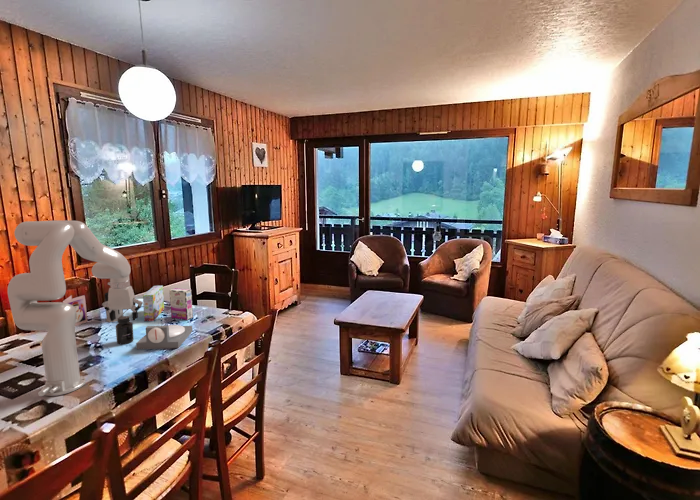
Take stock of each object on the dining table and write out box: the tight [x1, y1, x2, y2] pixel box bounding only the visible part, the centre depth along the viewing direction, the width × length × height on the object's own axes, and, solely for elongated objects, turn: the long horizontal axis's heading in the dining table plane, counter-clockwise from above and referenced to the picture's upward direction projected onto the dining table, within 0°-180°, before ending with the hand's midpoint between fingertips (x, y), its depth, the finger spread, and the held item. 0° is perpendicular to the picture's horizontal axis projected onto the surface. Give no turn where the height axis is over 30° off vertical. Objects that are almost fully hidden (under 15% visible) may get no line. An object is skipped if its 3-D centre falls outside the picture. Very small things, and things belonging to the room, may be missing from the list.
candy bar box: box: [169, 287, 194, 321], centre depth 203 cm, size 11×5×16 cm, turn 73°
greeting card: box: [62, 294, 88, 327], centre depth 191 cm, size 11×7×15 cm, turn 165°
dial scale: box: [135, 324, 193, 350], centre depth 173 cm, size 21×18×10 cm
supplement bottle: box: [115, 315, 135, 346], centre depth 171 cm, size 7×7×12 cm
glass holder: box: [104, 291, 129, 323], centre depth 200 cm, size 9×14×15 cm, turn 88°
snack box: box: [142, 285, 165, 322], centre depth 208 cm, size 21×6×15 cm, turn 13°
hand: (124, 319), depth 171 cm, fingers open, 9 cm apart
